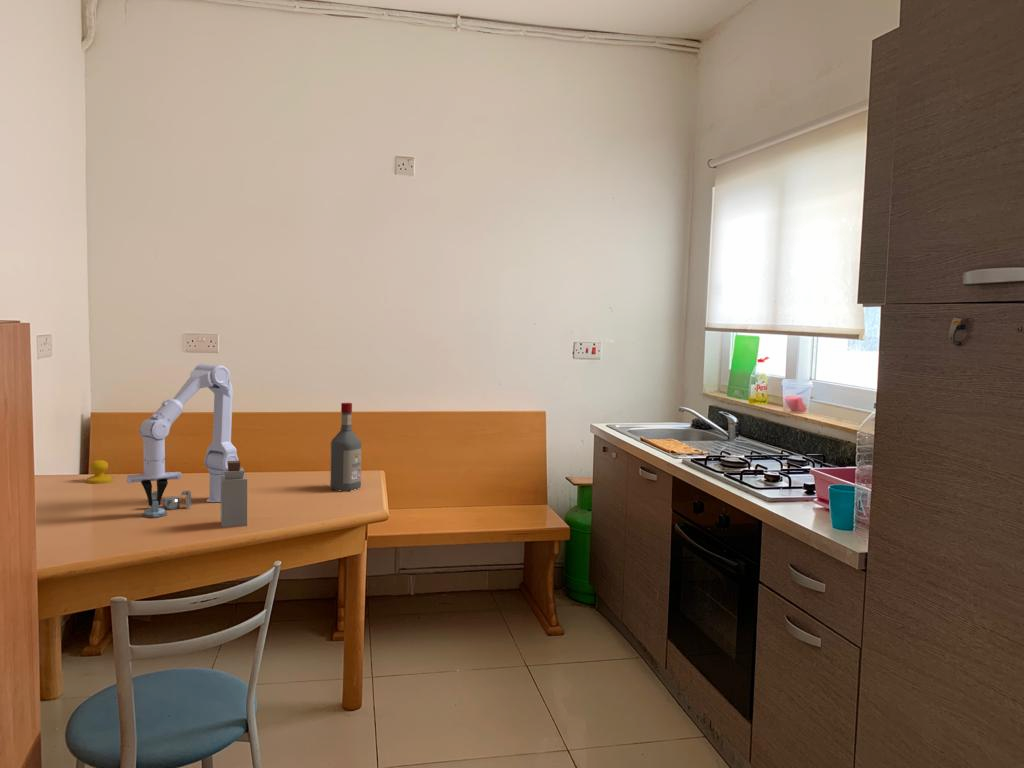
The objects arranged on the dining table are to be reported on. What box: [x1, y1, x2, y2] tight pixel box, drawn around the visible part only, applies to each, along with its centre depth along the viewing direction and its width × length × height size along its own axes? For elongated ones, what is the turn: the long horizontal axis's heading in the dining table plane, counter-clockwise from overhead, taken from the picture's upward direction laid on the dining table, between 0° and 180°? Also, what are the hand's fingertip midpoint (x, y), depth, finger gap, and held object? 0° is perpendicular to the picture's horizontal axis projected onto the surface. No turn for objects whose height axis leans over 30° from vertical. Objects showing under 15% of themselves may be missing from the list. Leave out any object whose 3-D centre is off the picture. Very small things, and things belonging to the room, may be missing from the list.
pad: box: [141, 510, 169, 519], centre depth 233 cm, size 7×7×1 cm
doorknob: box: [86, 459, 113, 485], centre depth 275 cm, size 8×8×8 cm
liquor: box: [329, 402, 362, 492], centre depth 274 cm, size 9×9×30 cm
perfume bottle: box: [220, 460, 248, 529], centre depth 226 cm, size 7×7×18 cm
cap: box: [143, 498, 166, 518], centre depth 233 cm, size 8×6×4 cm
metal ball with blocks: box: [152, 490, 192, 511], centre depth 242 cm, size 11×5×5 cm, turn 101°
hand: (154, 504), depth 233 cm, fingers closed on cap, 2 cm apart
